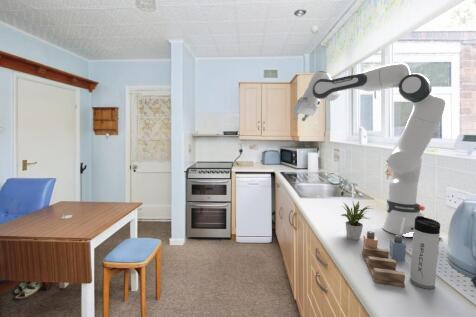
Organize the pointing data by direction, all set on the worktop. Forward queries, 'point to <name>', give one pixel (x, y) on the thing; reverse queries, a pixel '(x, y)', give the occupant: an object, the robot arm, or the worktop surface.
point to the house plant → (354, 221)
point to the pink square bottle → (370, 240)
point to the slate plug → (397, 248)
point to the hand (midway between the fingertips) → (299, 120)
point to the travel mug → (424, 252)
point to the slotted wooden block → (383, 267)
